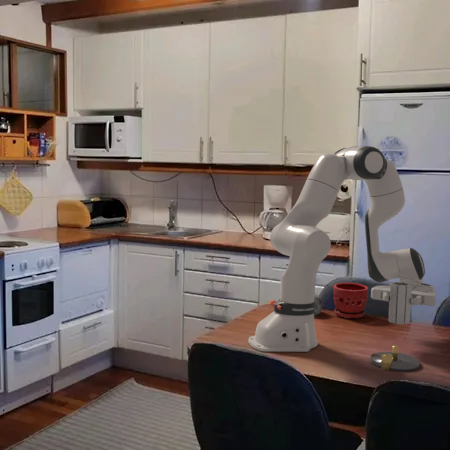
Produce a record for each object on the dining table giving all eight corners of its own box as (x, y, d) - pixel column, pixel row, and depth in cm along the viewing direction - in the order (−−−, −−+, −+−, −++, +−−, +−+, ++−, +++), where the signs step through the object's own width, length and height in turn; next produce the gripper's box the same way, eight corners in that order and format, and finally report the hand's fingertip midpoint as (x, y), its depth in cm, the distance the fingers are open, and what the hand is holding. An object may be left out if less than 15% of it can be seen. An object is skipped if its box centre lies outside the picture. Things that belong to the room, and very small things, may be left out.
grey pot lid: (385, 372, 168) (386, 354, 167) (361, 357, 181) (362, 340, 181) (429, 369, 171) (430, 352, 171) (402, 354, 185) (403, 338, 184)
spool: (330, 308, 229) (317, 285, 230) (309, 320, 227) (297, 297, 228) (319, 308, 242) (307, 287, 243) (299, 320, 240) (288, 298, 241)
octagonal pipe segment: (389, 323, 184) (391, 285, 183) (387, 318, 190) (389, 281, 189) (410, 324, 183) (413, 286, 182) (408, 319, 189) (410, 282, 188)
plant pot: (325, 313, 234) (326, 283, 233) (352, 310, 240) (354, 281, 239) (345, 321, 222) (347, 290, 221) (373, 318, 228) (375, 288, 227)
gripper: (375, 279, 202) (366, 286, 189) (439, 286, 193) (434, 294, 180) (374, 297, 202) (365, 305, 190) (438, 305, 193) (433, 314, 181)
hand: (399, 300), depth 185 cm, fingers closed on octagonal pipe segment, 7 cm apart
